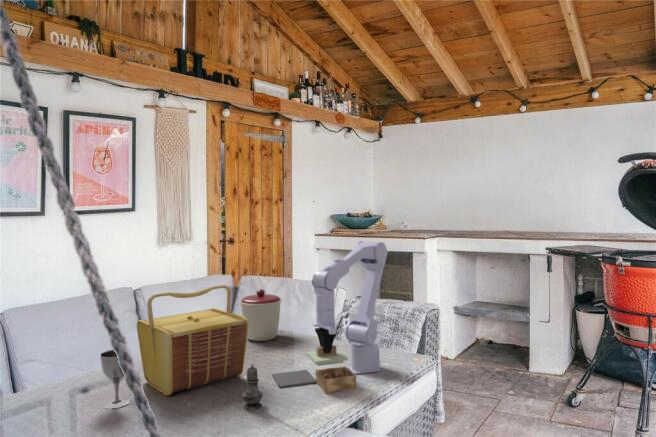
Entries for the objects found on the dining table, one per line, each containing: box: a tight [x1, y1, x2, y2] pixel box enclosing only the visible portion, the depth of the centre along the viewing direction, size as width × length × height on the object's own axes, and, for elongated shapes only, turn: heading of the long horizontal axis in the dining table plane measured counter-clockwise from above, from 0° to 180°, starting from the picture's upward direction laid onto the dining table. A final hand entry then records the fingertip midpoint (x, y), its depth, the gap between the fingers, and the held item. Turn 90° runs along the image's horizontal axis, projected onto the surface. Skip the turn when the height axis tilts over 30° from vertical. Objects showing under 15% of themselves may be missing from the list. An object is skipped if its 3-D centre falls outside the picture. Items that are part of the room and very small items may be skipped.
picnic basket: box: [136, 284, 248, 396], centre depth 163 cm, size 29×26×30 cm
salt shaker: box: [241, 364, 264, 411], centre depth 141 cm, size 6×6×12 cm
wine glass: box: [100, 349, 131, 404], centre depth 144 cm, size 8×8×15 cm
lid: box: [305, 344, 349, 367], centre depth 157 cm, size 10×10×4 cm
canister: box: [239, 288, 283, 342], centre depth 213 cm, size 18×18×21 cm
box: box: [315, 365, 357, 394], centre depth 156 cm, size 10×10×4 cm
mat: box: [271, 369, 317, 389], centre depth 162 cm, size 12×12×1 cm
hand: (326, 351), depth 157 cm, fingers closed on lid, 2 cm apart
